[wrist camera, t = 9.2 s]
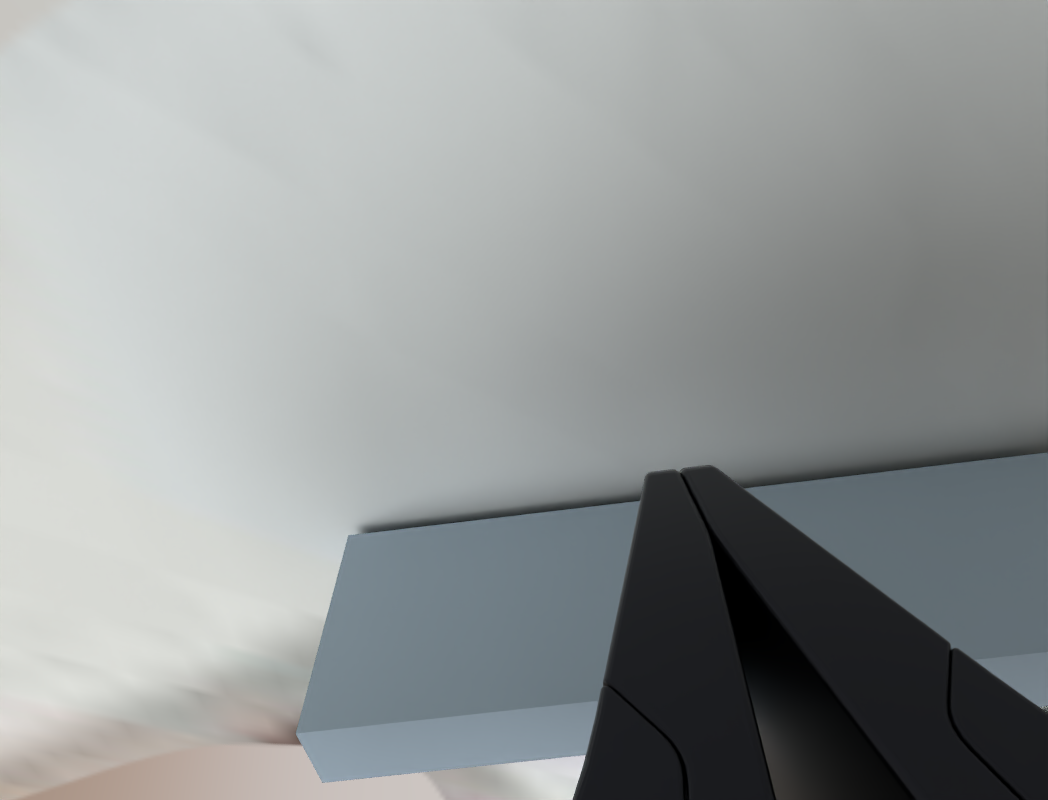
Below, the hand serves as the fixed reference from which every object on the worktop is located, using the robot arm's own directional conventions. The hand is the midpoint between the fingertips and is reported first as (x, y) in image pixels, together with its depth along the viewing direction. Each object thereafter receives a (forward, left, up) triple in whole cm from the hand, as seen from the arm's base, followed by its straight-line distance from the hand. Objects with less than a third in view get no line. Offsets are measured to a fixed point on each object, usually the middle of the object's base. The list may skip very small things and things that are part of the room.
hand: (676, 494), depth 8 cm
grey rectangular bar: (-5, -1, -4) cm, 7 cm away
